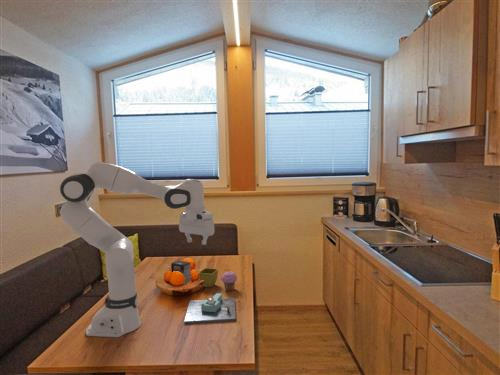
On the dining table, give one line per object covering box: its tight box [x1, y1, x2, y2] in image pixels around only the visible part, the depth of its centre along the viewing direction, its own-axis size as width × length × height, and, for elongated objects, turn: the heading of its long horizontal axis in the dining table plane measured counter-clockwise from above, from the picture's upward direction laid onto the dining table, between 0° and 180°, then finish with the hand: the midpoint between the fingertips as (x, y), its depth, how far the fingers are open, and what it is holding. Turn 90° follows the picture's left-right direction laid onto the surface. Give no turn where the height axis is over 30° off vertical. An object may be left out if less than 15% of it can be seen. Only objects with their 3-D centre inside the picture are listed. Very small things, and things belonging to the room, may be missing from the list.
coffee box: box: [170, 260, 192, 285], centre depth 183 cm, size 9×6×16 cm
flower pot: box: [198, 267, 219, 288], centre depth 189 cm, size 9×9×9 cm
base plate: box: [183, 297, 237, 325], centre depth 157 cm, size 23×22×6 cm
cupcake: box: [220, 271, 238, 292], centre depth 183 cm, size 9×9×10 cm
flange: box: [201, 292, 223, 312], centre depth 160 cm, size 14×7×3 cm, turn 164°
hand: (196, 243), depth 151 cm, fingers open, 8 cm apart
